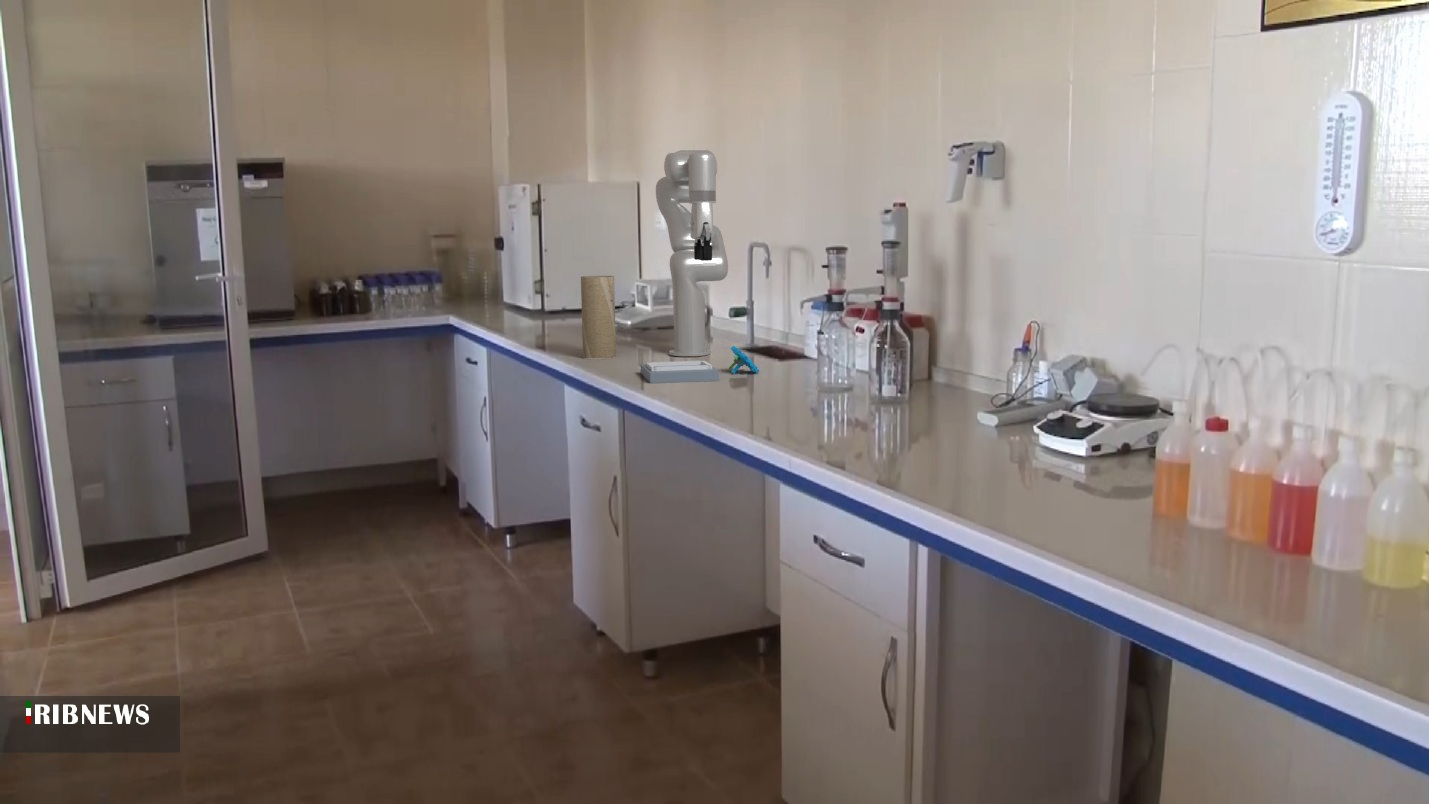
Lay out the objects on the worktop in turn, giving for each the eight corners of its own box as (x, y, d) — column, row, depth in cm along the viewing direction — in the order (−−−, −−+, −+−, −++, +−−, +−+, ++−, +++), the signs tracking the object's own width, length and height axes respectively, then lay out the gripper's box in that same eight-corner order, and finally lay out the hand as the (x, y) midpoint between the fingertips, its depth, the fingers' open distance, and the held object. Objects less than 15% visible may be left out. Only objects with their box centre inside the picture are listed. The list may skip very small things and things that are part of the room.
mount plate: (640, 373, 315) (640, 360, 314) (705, 371, 318) (705, 358, 318) (650, 383, 296) (650, 369, 295) (719, 380, 299) (719, 367, 298)
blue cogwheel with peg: (765, 371, 308) (740, 345, 305) (750, 387, 307) (725, 361, 304) (752, 367, 318) (729, 341, 315) (738, 382, 318) (714, 357, 315)
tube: (618, 357, 354) (616, 275, 350) (612, 361, 344) (610, 277, 340) (586, 357, 355) (584, 275, 351) (579, 360, 345) (577, 277, 341)
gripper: (684, 198, 326) (684, 259, 328) (694, 197, 309) (695, 261, 312) (710, 198, 327) (710, 259, 330) (721, 197, 310) (722, 261, 313)
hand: (703, 260), depth 321 cm, fingers open, 9 cm apart
